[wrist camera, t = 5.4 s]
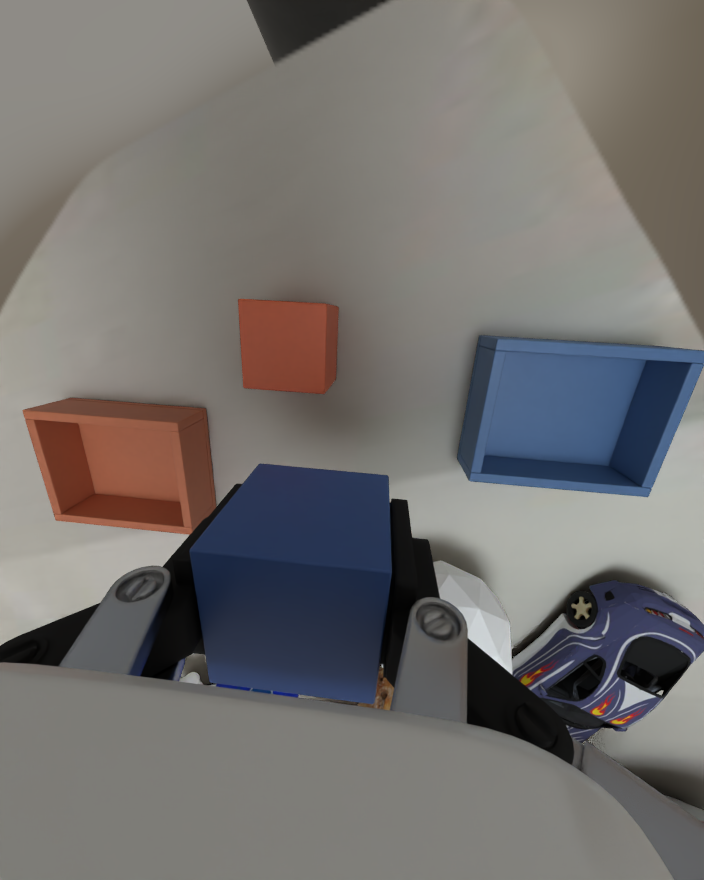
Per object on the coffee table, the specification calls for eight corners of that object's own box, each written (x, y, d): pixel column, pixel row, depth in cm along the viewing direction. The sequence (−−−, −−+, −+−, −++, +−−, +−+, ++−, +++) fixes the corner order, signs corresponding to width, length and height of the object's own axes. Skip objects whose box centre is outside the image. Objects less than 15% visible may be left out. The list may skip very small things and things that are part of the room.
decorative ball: (520, 544, 28) (579, 734, 19) (409, 570, 32) (415, 732, 24) (478, 485, 23) (531, 698, 14) (357, 525, 28) (341, 703, 19)
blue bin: (478, 335, 20) (497, 338, 17) (655, 345, 19) (710, 351, 16) (456, 458, 23) (468, 481, 20) (609, 471, 22) (648, 497, 19)
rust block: (267, 302, 21) (237, 298, 16) (338, 306, 20) (327, 303, 16) (269, 375, 22) (242, 388, 18) (336, 379, 22) (324, 394, 18)
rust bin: (70, 397, 24) (21, 409, 21) (206, 408, 23) (177, 422, 20) (95, 496, 27) (55, 520, 24) (216, 508, 26) (192, 535, 23)
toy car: (463, 694, 31) (478, 762, 26) (609, 556, 24) (663, 613, 20) (534, 727, 31) (560, 799, 27) (693, 601, 25) (765, 666, 20)
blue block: (258, 462, 11) (187, 549, 7) (388, 474, 11) (392, 572, 7) (263, 564, 13) (208, 683, 9) (377, 577, 13) (374, 705, 9)
